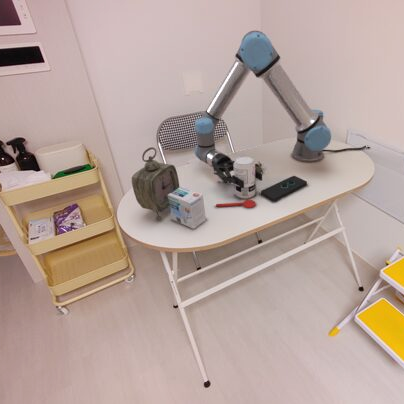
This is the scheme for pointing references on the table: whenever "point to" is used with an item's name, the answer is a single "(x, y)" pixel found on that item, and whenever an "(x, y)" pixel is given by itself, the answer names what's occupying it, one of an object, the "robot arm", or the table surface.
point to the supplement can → (245, 176)
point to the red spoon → (246, 204)
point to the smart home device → (283, 188)
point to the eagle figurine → (260, 167)
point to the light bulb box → (187, 207)
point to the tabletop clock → (154, 184)
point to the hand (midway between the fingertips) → (252, 181)
